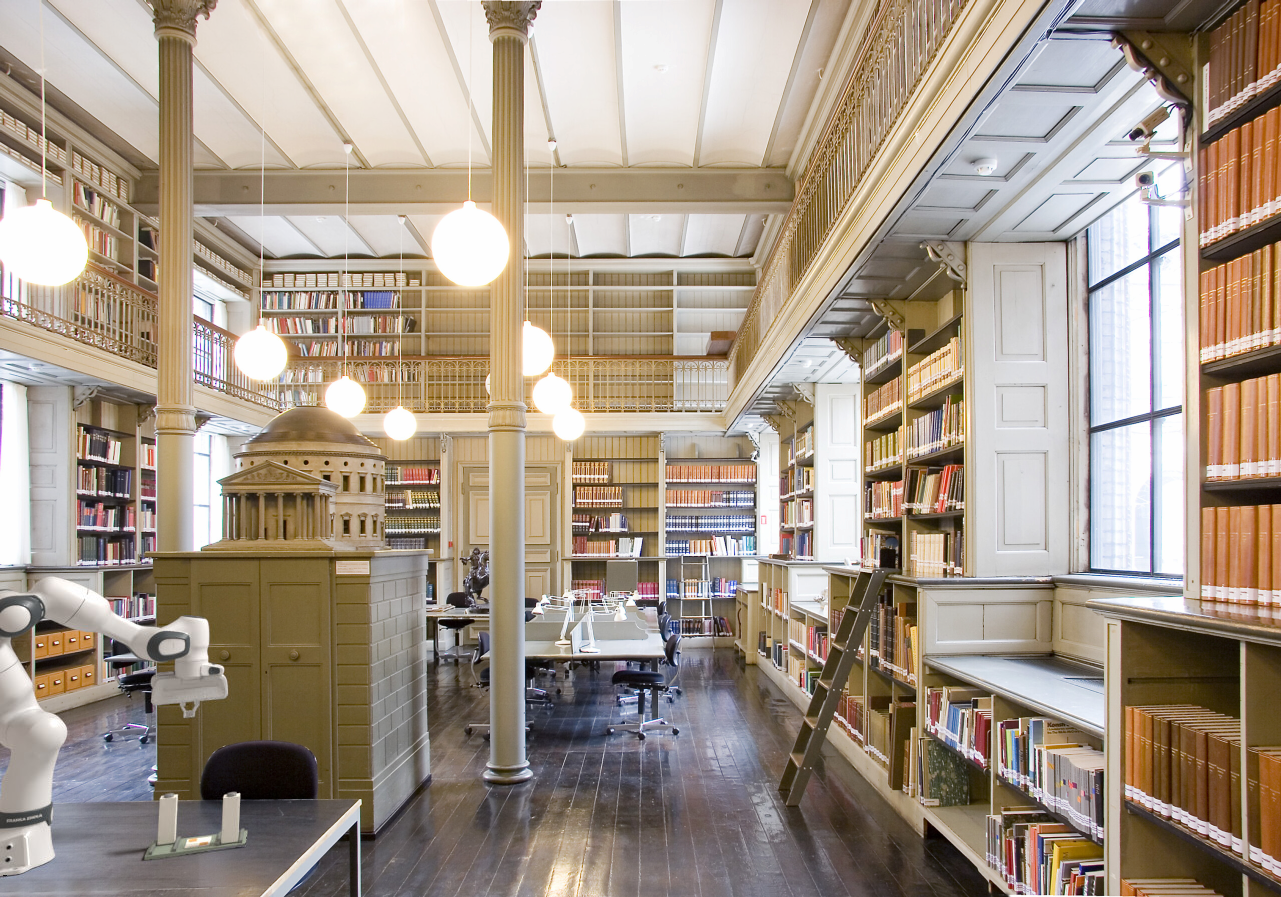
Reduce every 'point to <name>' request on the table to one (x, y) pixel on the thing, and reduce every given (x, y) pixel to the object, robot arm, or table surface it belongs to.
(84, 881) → the table surface
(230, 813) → the right switch
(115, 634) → the robot arm
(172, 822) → the left switch
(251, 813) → the table surface
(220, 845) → the switch unit
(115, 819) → the table surface
